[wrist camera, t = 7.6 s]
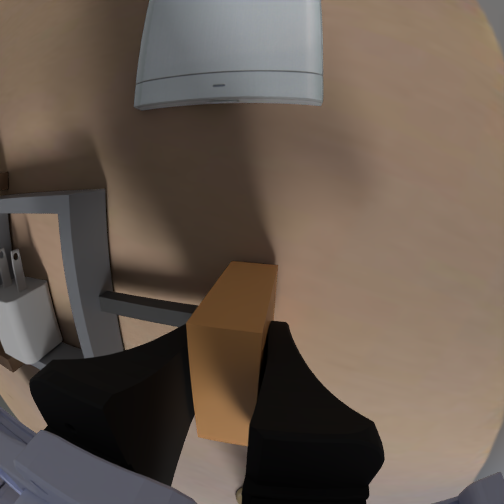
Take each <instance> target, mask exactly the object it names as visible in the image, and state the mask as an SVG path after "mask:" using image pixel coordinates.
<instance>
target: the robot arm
mask: <svg viewBox="0 0 504 504" xmlns="http://www.w3.org/2000/svg"><path fill="white" fill-rule="evenodd" d="M29 385H30V391H31V395H32V397H33V399H34V401H35V403H36V405H37V407H38V409H39V411H40V413H41V414H42V416H43V418H44V420H45V421H46V423H47V425H48V426H47V427H46V428H45V429H44V430H40V431H39V432H38V433H37V434H36V433H35V432H34V431H32V430H31V429H29V428H28V427H26V426H25V425H24V424H22V423H21V422H19V421H18V420H17V419H15V418H14V417H13V416H12V415H10V414H9V413H8V412H6V411H5V410H4V409H3V408H1V407H0V504H197V503H196V502H195V501H194V500H193V499H192V498H190V497H189V496H187V495H185V494H183V493H181V492H180V491H178V490H176V489H175V488H173V487H171V484H172V480H173V477H174V473H175V470H176V467H177V463H178V460H179V457H180V454H181V451H182V448H183V445H184V441H185V439H186V436H187V433H188V430H189V427H190V424H191V422H192V420H193V417H194V415H195V411H194V403H193V394H192V385H191V376H190V366H189V354H188V342H187V329H186V324H184V325H182V326H180V327H179V328H177V329H175V330H173V331H171V332H169V333H167V334H165V335H163V336H161V337H159V338H157V339H155V340H153V341H151V342H148V343H146V344H143V345H140V346H138V347H135V348H132V349H129V350H125V351H121V352H117V353H113V354H109V355H104V356H98V357H91V358H83V359H61V360H56V359H53V360H51V361H50V362H49V363H48V364H47V365H46V366H45V367H44V368H42V369H41V370H40V371H39V372H38V373H37V374H36V375H35V376H34V377H32V378H31V379H30V384H29ZM383 462H384V450H383V445H382V442H381V439H380V436H379V434H378V431H377V429H376V426H375V424H374V422H373V421H371V420H369V419H368V418H366V417H364V416H362V415H361V414H359V413H357V412H356V411H354V410H352V409H351V408H349V407H348V406H347V405H345V404H344V403H343V402H341V401H340V400H339V399H338V398H336V397H335V396H334V395H333V394H332V393H331V392H330V391H329V390H328V389H326V388H325V387H324V386H323V385H322V383H321V382H320V381H319V380H318V379H317V378H316V376H315V375H314V374H313V373H312V371H311V370H310V369H309V367H308V366H307V364H306V363H305V361H304V359H303V358H302V356H301V354H300V353H299V351H298V349H297V347H296V345H295V343H294V340H293V338H292V335H291V333H290V329H289V325H288V324H287V322H279V321H271V322H270V325H269V328H268V338H267V350H266V361H265V372H264V378H263V381H262V385H261V389H260V393H259V396H258V400H257V403H256V406H255V410H254V413H253V416H252V419H251V421H250V424H249V435H248V450H247V465H246V475H245V479H244V484H243V488H242V493H241V495H242V504H366V499H368V498H369V486H368V485H369V483H370V482H371V481H372V479H373V478H374V477H375V475H376V474H377V473H378V471H379V470H380V468H381V467H382V465H383ZM433 504H504V479H503V476H502V474H501V472H498V473H496V474H493V475H490V476H488V477H485V478H483V479H480V480H478V481H476V482H474V483H472V484H470V485H469V486H467V487H466V488H465V489H464V490H463V491H462V492H461V493H460V494H459V496H457V497H454V498H450V499H447V500H444V501H440V502H437V503H433Z"/></svg>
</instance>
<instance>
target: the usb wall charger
mask: <svg viewBox="0 0 504 504" xmlns="http://www.w3.org/2000/svg"><path fill="white" fill-rule="evenodd" d="M1 251H2V252H3V254H4V255H3V258H0V273H1V278H2V282H3V284H2V285H0V341H1V343H2V346H3V348H4V351H5V353H6V354H8V355H10V356H12V357H14V358H15V359H17V360H19V361H21V362H23V363H25V364H34V363H36V362H37V361H39V360H40V359H41V358H42V357H43V356H45V355H46V354H47V353H48V352H50V351H51V350H52V349H53V348H55V347H56V346H57V345H58V344H59V343H61V341H62V336H61V333H60V329H59V326H58V323H57V319H56V316H55V312H54V308H53V304H52V300H51V296H50V292H49V288H48V283H47V281H46V280H41V279H35V278H30V277H25V276H24V271H23V266H22V261H21V257H20V253H19V249H16V250H13V251H11V259H12V266H13V271H14V276H15V278H14V279H12V280H11V277H10V272H9V267H8V262H7V258H6V254H5V250H4V248H1V249H0V252H1ZM15 253H17V254H18V258H17V260H14V258H13V256H14V254H15Z"/></svg>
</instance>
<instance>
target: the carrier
mask: <svg viewBox="0 0 504 504" xmlns="http://www.w3.org/2000/svg"><path fill="white" fill-rule="evenodd" d="M8 213H53V214H58V220H59V232H60V242H61V250H62V258H63V265H64V272H65V278H66V283H67V289H68V294H69V299H70V304H71V309H72V313H73V318H74V322H75V326H76V330H77V334H78V338H79V341H80V345H81V349H79V348H76V347H73V346H71V345H68V344H65V343H63V342H61V343H59V344H58V345H57V346H56V347H55V348H53V349H52V350H51V351H50V352H48V353H47V354H46V355H45V356H43V357H42V358H41V359H40V360H39V361H37V362H36V363H34V364H31V365H32V366H34V367H36V368H38V369H40V370H41V369H42V368H44V367H45V366H46V365H47V364H48V363H49V362H50V361H51V360H53V359H56V360H61V359H83V358H91V357H98V356H104V355H109V354H113V353H117V352H121V351H124V350H123V345H122V340H121V335H120V330H119V325H118V319H117V315H121V316H126V317H131V318H135V319H140V320H145V321H150V322H155V323H160V324H166V325H171V326H177V327H180V326H182V325H184V324H186V329H187V342H188V354H189V366H190V376H191V385H192V394H193V403H194V411H195V419H196V426H197V434H198V437H200V438H205V439H209V440H214V441H220V442H225V443H231V444H237V445H243V446H248V435H249V424H250V421H251V419H252V416H253V413H254V410H255V406H256V403H257V400H258V396H259V393H260V389H261V385H262V381H263V378H264V372H265V361H266V350H267V338H268V328H269V325H270V322H271V321H273V320H274V308H275V296H276V284H277V271H278V265H270V264H259V263H248V262H237V261H231V263H230V264H229V265H228V267H227V268H226V269H225V271H224V272H223V273H222V275H221V276H220V277H219V279H218V280H217V281H216V283H215V284H214V286H213V287H212V288H211V290H210V291H209V292H208V294H207V295H206V296H205V298H204V299H203V300H202V302H201V303H200V305H199V306H197V305H190V304H183V303H177V302H170V301H164V300H158V299H152V298H146V297H140V296H134V295H128V294H123V293H117V292H113V287H112V279H111V271H110V261H109V251H108V239H107V224H106V200H105V189H86V190H65V191H49V192H35V193H23V194H12V195H2V196H0V249H1V248H4V250H5V254H6V258H7V262H8V267H9V272H10V277H11V280H12V279H14V278H15V276H14V271H13V266H12V259H11V251H12V247H11V239H10V231H9V222H8ZM3 255H4V254H3V252H2V251H1V252H0V258H3ZM2 284H3V282H2V278H1V273H0V285H2Z"/></svg>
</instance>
